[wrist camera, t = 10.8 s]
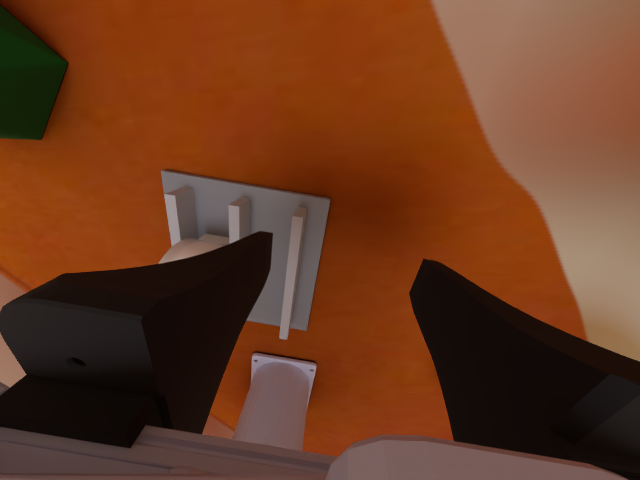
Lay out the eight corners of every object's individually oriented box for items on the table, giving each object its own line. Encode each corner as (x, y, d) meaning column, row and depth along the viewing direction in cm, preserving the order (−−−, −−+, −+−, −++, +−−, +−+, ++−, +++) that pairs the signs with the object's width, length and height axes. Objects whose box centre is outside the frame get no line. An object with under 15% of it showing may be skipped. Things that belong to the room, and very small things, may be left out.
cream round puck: (233, 297, 24) (188, 370, 17) (209, 293, 24) (154, 364, 17) (232, 228, 20) (174, 281, 13) (204, 223, 20) (131, 274, 13)
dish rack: (307, 326, 26) (303, 349, 23) (184, 305, 26) (166, 326, 23) (330, 198, 19) (329, 209, 16) (165, 169, 19) (137, 175, 16)
